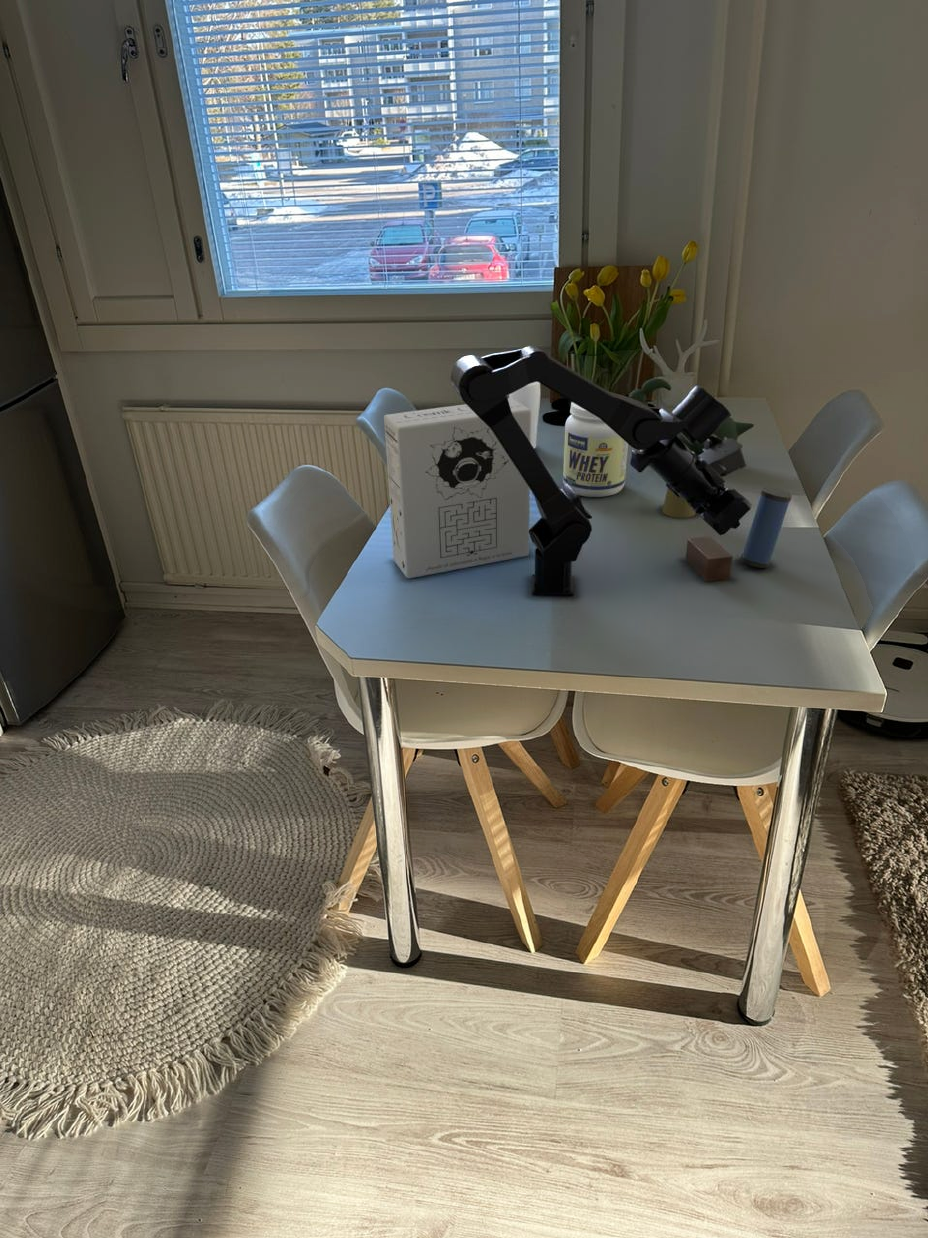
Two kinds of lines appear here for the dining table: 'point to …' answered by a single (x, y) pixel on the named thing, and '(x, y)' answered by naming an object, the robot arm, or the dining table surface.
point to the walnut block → (708, 559)
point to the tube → (766, 527)
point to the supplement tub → (593, 455)
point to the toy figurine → (725, 430)
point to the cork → (676, 506)
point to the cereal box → (454, 491)
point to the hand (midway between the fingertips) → (737, 525)
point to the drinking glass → (530, 405)
